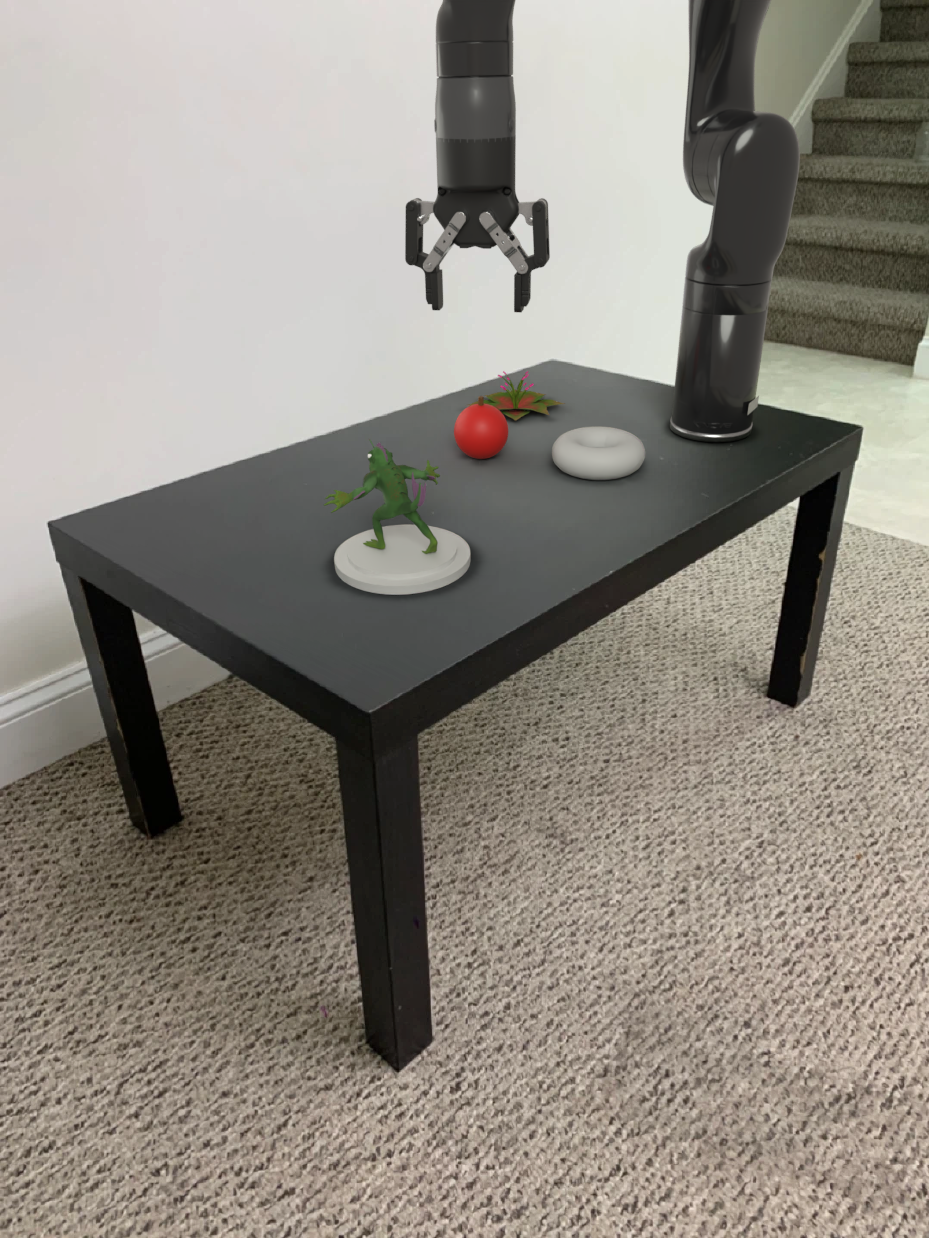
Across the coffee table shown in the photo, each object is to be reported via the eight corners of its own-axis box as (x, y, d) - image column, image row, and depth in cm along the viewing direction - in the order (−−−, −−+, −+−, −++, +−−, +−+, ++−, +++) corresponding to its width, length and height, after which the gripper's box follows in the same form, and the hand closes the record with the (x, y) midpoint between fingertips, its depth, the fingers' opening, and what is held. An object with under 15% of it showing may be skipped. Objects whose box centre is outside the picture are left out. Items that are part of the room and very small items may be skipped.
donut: (545, 483, 98) (642, 487, 96) (546, 452, 97) (644, 455, 95) (557, 450, 107) (646, 453, 105) (557, 420, 105) (648, 423, 103)
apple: (461, 446, 108) (459, 387, 105) (512, 449, 107) (512, 389, 103) (449, 465, 103) (447, 404, 99) (503, 468, 102) (503, 406, 98)
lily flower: (515, 432, 112) (515, 394, 109) (448, 409, 119) (447, 374, 117) (582, 409, 119) (584, 373, 116) (515, 389, 126) (515, 355, 124)
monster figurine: (423, 521, 90) (418, 418, 85) (497, 567, 82) (497, 456, 77) (311, 555, 85) (298, 447, 79) (378, 609, 76) (369, 491, 71)
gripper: (556, 129, 90) (551, 303, 98) (412, 130, 93) (419, 300, 101) (545, 134, 84) (541, 320, 92) (391, 136, 86) (401, 316, 95)
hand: (477, 310), depth 96 cm, fingers open, 8 cm apart
